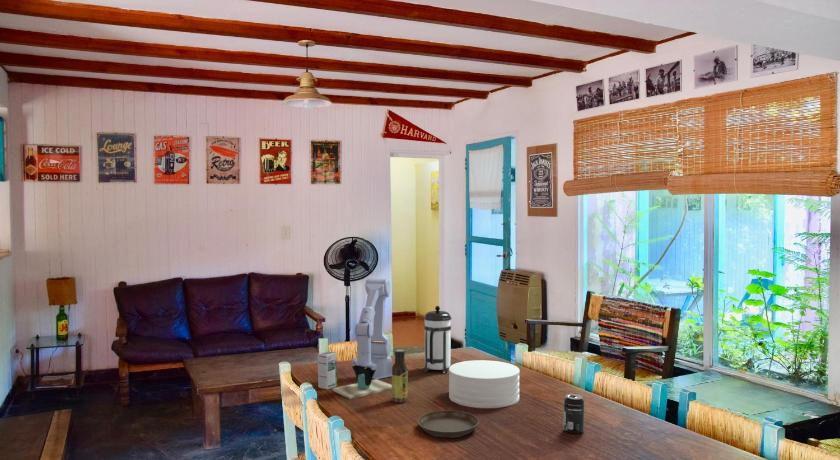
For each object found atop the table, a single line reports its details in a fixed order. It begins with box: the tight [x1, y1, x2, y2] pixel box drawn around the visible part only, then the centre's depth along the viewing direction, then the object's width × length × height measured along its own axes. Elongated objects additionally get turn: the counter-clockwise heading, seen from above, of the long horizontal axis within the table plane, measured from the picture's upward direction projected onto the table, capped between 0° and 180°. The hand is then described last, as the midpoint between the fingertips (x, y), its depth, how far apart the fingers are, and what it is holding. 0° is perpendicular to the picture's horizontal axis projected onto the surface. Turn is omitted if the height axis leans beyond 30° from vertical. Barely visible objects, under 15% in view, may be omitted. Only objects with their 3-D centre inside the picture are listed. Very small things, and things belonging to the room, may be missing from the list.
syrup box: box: [317, 350, 338, 390], centre depth 262 cm, size 6×6×14 cm
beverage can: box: [563, 393, 585, 434], centre depth 211 cm, size 7×7×12 cm
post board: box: [332, 379, 392, 400], centre depth 258 cm, size 22×14×5 cm, turn 128°
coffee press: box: [422, 305, 452, 374], centre depth 288 cm, size 17×16×30 cm
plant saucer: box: [417, 409, 479, 439], centre depth 213 cm, size 21×21×3 cm
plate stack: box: [448, 359, 520, 409], centre depth 249 cm, size 28×28×12 cm
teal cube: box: [357, 374, 370, 389], centre depth 258 cm, size 5×5×5 cm
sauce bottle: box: [391, 349, 409, 403], centre depth 244 cm, size 7×6×20 cm
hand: (364, 383), depth 259 cm, fingers closed on teal cube, 5 cm apart
